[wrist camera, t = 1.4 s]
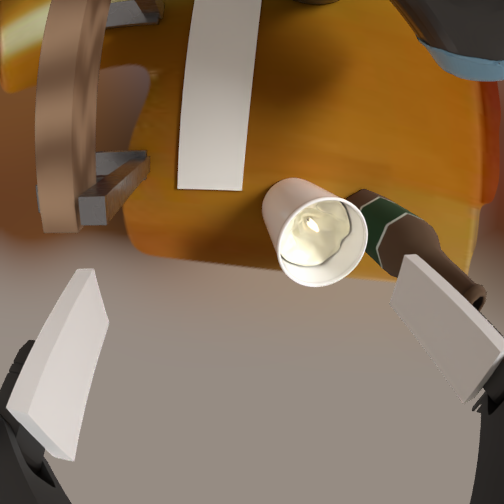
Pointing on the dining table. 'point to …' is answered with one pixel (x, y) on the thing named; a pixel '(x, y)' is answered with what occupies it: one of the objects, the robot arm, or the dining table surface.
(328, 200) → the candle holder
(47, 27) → the walnut bar
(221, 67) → the grey mat
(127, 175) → the hook rack
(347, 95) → the dining table surface
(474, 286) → the beer bottle
